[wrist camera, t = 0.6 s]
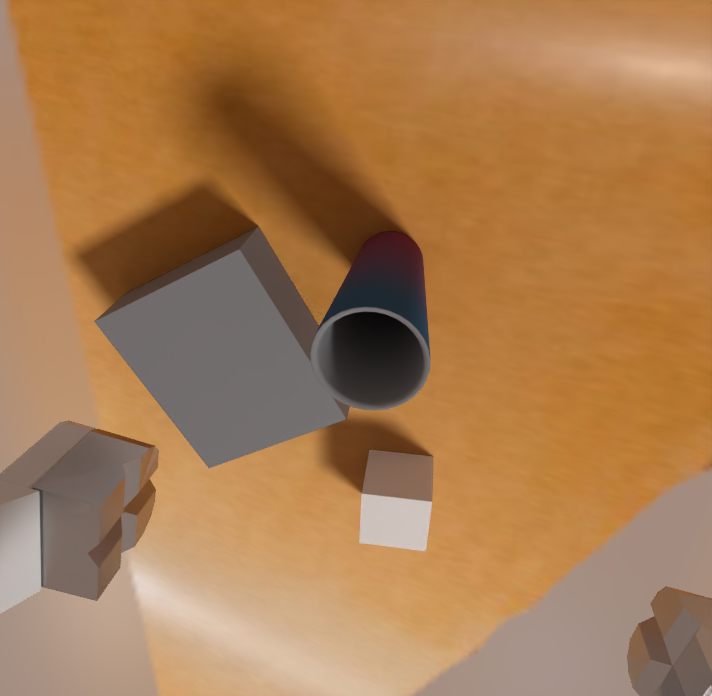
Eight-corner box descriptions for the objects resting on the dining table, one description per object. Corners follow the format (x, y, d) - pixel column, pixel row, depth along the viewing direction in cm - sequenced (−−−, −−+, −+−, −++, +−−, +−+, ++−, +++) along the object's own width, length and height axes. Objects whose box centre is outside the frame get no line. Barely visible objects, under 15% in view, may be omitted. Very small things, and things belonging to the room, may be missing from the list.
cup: (337, 286, 48) (297, 389, 35) (361, 207, 45) (327, 290, 32) (417, 312, 48) (406, 425, 36) (447, 236, 45) (448, 330, 32)
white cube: (427, 503, 59) (425, 551, 54) (366, 495, 59) (359, 543, 54) (433, 455, 56) (432, 502, 51) (369, 448, 56) (361, 493, 51)
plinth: (123, 294, 51) (94, 321, 47) (258, 226, 47) (239, 249, 42) (226, 433, 57) (208, 468, 53) (354, 385, 53) (346, 419, 48)
